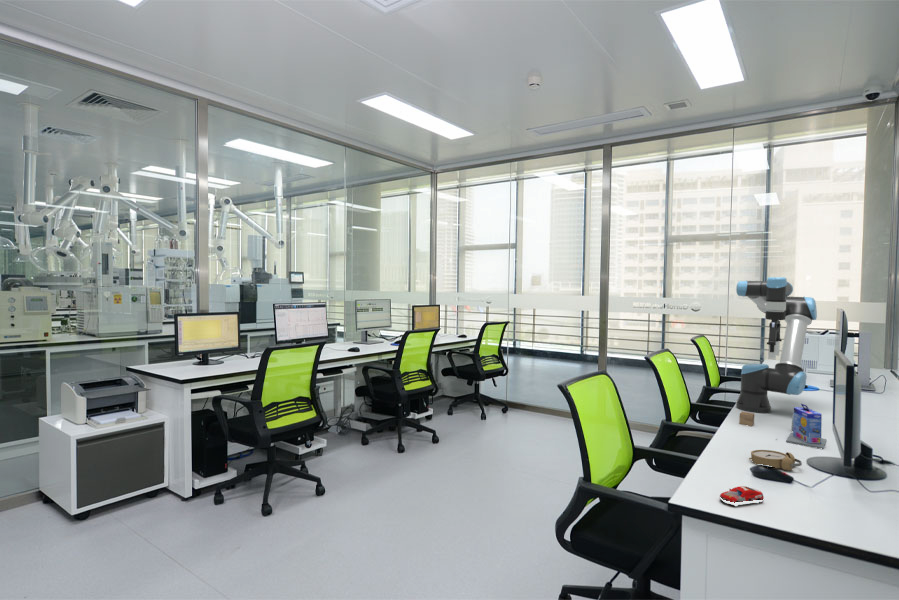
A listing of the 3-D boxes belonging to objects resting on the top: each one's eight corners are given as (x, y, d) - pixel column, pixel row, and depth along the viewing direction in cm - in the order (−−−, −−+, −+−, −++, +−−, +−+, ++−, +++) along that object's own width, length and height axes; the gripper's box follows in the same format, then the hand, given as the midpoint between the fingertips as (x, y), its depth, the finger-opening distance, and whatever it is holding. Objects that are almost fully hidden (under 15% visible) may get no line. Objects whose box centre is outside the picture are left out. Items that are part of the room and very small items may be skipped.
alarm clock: (753, 447, 178) (802, 450, 168) (755, 461, 178) (804, 464, 168) (746, 455, 170) (798, 459, 160) (749, 469, 169) (800, 474, 159)
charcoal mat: (790, 434, 204) (790, 432, 204) (826, 441, 196) (826, 439, 196) (786, 442, 194) (786, 440, 194) (823, 449, 186) (823, 447, 186)
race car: (730, 509, 135) (730, 495, 135) (715, 500, 140) (715, 487, 140) (767, 504, 138) (768, 490, 138) (751, 495, 144) (751, 482, 144)
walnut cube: (741, 422, 222) (741, 411, 222) (754, 424, 219) (754, 413, 218) (739, 424, 218) (739, 413, 218) (751, 426, 215) (752, 415, 215)
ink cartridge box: (791, 435, 200) (793, 401, 199) (805, 436, 199) (807, 401, 199) (807, 443, 190) (808, 407, 189) (821, 444, 190) (823, 408, 189)
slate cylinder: (792, 429, 211) (792, 413, 211) (806, 431, 208) (806, 416, 208) (790, 431, 208) (791, 416, 208) (804, 434, 204) (805, 418, 204)
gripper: (769, 309, 229) (767, 352, 230) (761, 312, 210) (760, 360, 211) (788, 309, 224) (786, 354, 225) (782, 313, 205) (780, 362, 206)
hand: (773, 357), depth 218 cm, fingers open, 13 cm apart
